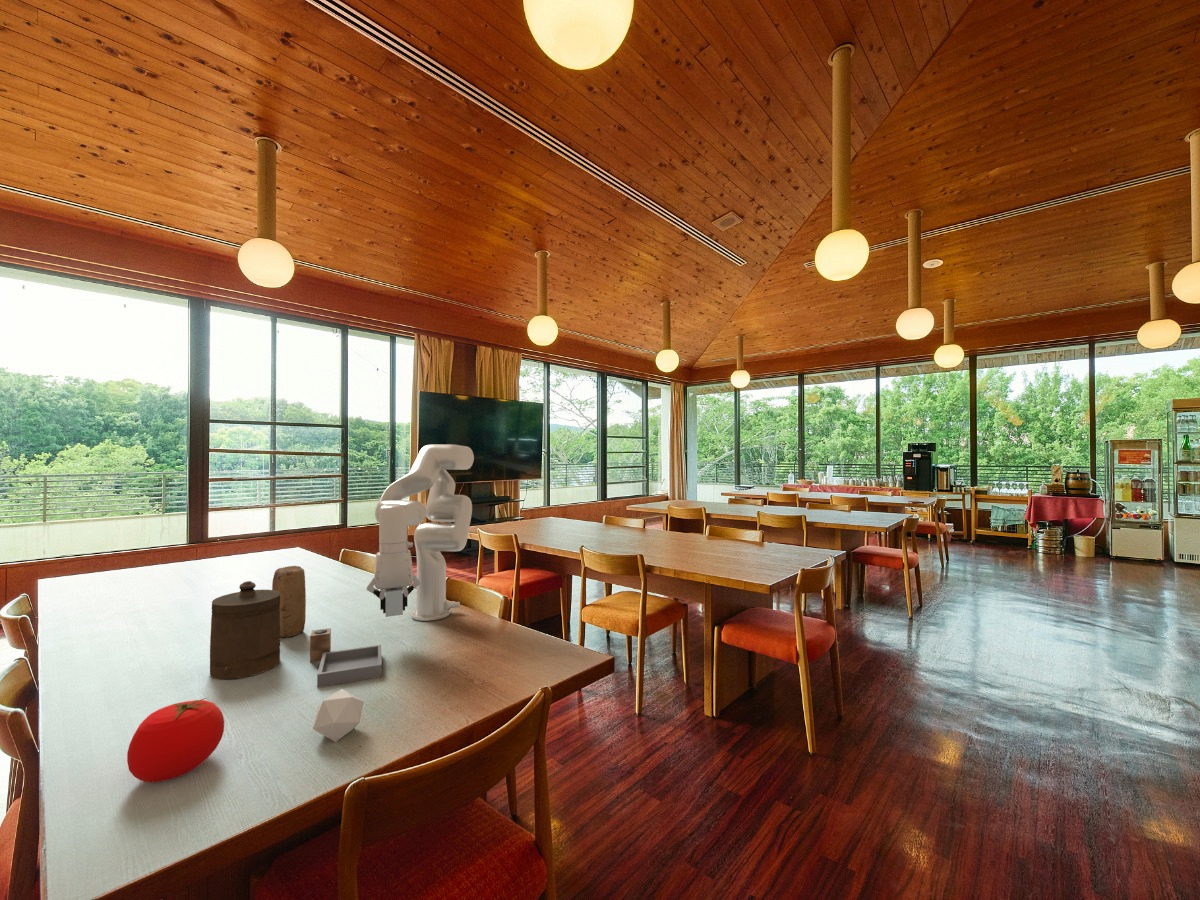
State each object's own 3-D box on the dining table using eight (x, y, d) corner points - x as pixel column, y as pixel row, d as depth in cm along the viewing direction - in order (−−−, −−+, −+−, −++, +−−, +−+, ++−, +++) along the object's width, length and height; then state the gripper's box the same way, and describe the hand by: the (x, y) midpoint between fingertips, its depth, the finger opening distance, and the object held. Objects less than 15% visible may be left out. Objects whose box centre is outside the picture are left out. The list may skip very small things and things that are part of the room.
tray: (381, 655, 136) (381, 644, 136) (381, 676, 124) (381, 664, 124) (322, 664, 131) (323, 652, 131) (317, 687, 118) (317, 674, 118)
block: (307, 634, 152) (307, 568, 152) (278, 640, 146) (279, 572, 147) (296, 625, 159) (297, 563, 160) (269, 631, 154) (269, 566, 154)
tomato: (107, 785, 83) (108, 716, 83) (198, 740, 96) (199, 681, 96) (152, 804, 79) (153, 731, 79) (242, 755, 91) (242, 692, 91)
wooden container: (272, 650, 139) (273, 572, 139) (286, 667, 129) (287, 582, 129) (205, 666, 129) (206, 581, 129) (214, 686, 118) (215, 593, 118)
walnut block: (330, 653, 138) (330, 627, 138) (329, 659, 134) (329, 633, 134) (311, 656, 136) (312, 630, 136) (309, 662, 132) (310, 635, 132)
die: (338, 722, 104) (308, 695, 100) (376, 700, 105) (347, 673, 100) (330, 757, 97) (297, 730, 92) (370, 734, 97) (339, 706, 93)
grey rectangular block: (402, 609, 146) (401, 585, 146) (402, 614, 142) (402, 590, 142) (385, 611, 144) (385, 587, 144) (385, 616, 140) (385, 592, 140)
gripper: (423, 542, 149) (423, 602, 150) (361, 547, 142) (361, 610, 143) (425, 547, 143) (426, 610, 143) (360, 553, 136) (361, 619, 136)
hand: (394, 609), depth 143 cm, fingers closed on grey rectangular block, 4 cm apart
